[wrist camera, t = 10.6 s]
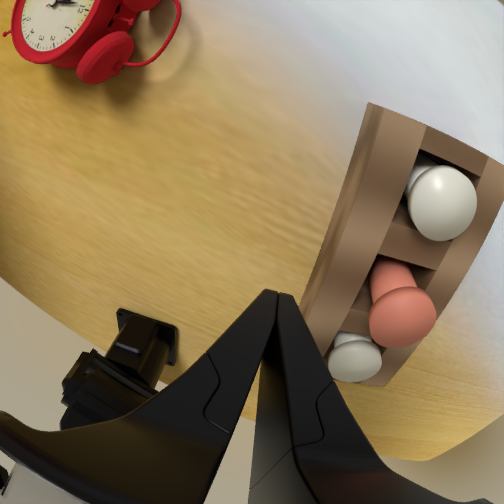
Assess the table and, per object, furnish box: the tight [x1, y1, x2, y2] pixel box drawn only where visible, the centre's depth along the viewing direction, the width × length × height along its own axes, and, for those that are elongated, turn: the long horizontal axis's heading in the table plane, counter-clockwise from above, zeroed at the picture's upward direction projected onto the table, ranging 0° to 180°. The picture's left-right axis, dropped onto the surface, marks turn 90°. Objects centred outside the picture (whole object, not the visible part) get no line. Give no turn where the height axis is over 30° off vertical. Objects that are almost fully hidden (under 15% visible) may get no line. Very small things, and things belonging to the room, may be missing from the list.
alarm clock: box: [3, 0, 181, 84], centre depth 13 cm, size 10×6×15 cm
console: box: [298, 102, 504, 387], centre depth 20 cm, size 20×9×4 cm, turn 169°
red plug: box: [367, 255, 436, 348], centre depth 18 cm, size 4×4×5 cm
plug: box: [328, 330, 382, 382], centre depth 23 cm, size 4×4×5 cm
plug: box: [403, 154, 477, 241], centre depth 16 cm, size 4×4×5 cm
